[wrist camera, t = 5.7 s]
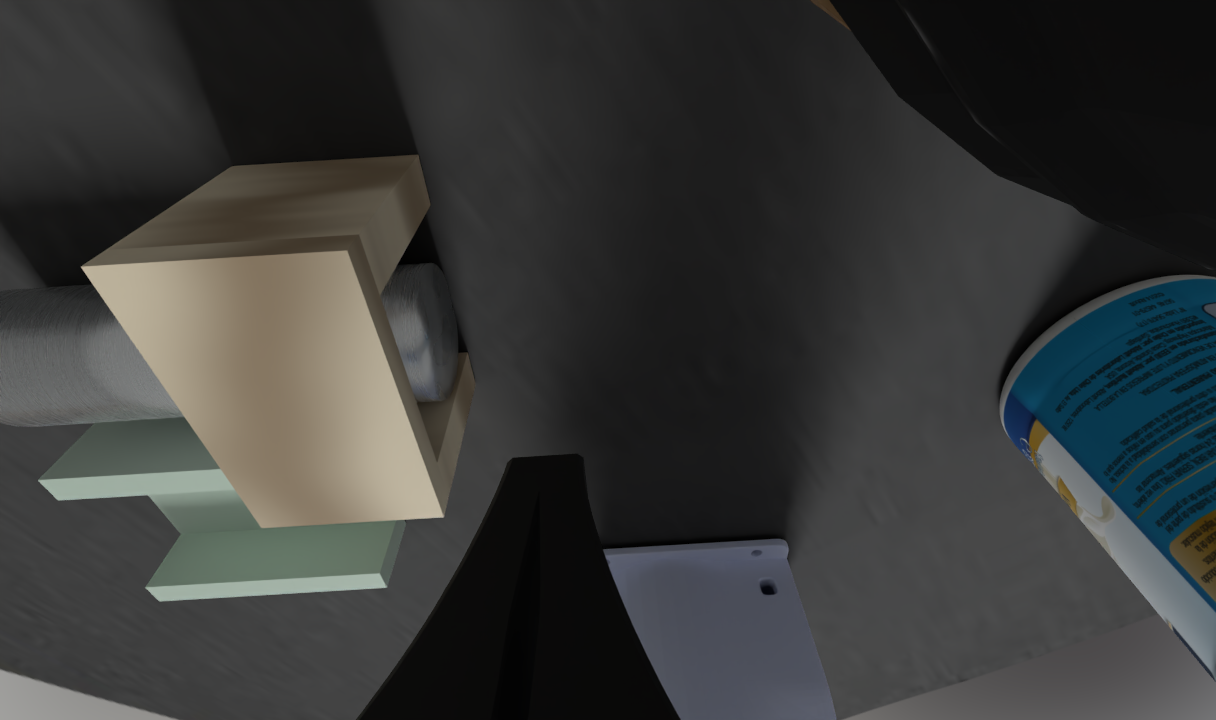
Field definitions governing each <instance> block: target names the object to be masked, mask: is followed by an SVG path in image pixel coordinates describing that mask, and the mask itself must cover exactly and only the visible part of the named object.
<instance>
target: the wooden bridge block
mask: <svg viewBox="0 0 1216 720" xmlns="http://www.w3.org/2000/svg"><path fill="white" fill-rule="evenodd" d="M430 205H431V204H430V200H429V196H428V192H427V188H426V184H425V180H424V176H423V172H422V168H421V164H420V160H419V156H418V155H405V156H389V157H372V158H356V159H340V160H323V161H307V162H291V163H274V164H258V165H241V166H231V167H230V168H228V169H227V170H225V171H224V172H222V173H221V174H219V175H218V176H216V177H215V178H213V179H212V180H210V181H209V182H207V183H206V184H204V185H203V186H201V187H200V188H198V189H197V190H195V191H194V192H192V193H191V194H189V195H188V196H186V197H185V198H183V199H182V200H180V201H179V202H177V203H176V204H174V205H173V206H171V207H170V208H168V209H167V210H165V211H164V212H162V213H161V214H159V215H158V216H156V217H155V218H153V219H152V220H150V221H149V222H147V223H146V224H144V225H143V226H141V227H140V228H138V229H137V230H135V231H134V232H132V233H131V234H129V235H128V236H126V237H124V238H123V239H121V240H120V241H118V242H117V243H115V244H114V245H112V246H111V247H109V248H108V249H106V250H105V251H103V252H102V253H100V254H99V255H97V256H96V257H94V258H93V259H91V260H90V261H88V262H87V263H85V264H84V265H82V266H81V268H82V270H83V271H84V272H85V274H86V275H87V277H88V278H89V280H90V281H91V283H92V284H93V285H94V287H95V288H96V290H97V291H98V293H99V294H100V296H101V297H102V298H103V300H104V301H105V303H106V304H107V306H108V307H109V309H110V310H111V311H112V313H113V314H114V316H115V317H116V319H117V320H118V322H119V323H120V324H121V326H122V327H123V329H124V330H125V332H126V333H127V335H128V336H129V337H130V339H131V340H132V342H133V343H134V345H135V346H136V348H137V349H138V350H139V352H140V353H141V355H142V356H143V358H144V359H145V361H146V362H147V363H148V365H149V366H150V368H151V369H152V371H153V372H154V374H155V375H156V376H157V378H158V379H159V381H160V382H161V384H162V385H163V387H164V388H165V389H166V391H167V392H168V394H169V395H170V397H171V398H172V400H173V401H174V402H175V404H176V405H177V407H178V408H179V410H180V411H181V413H182V414H183V415H184V417H185V418H186V420H187V421H188V423H189V424H190V426H191V427H192V428H193V430H194V431H195V433H196V434H197V436H198V437H199V439H200V440H201V441H202V443H203V444H204V446H205V447H206V449H207V450H208V452H209V453H210V454H211V456H212V457H213V459H214V460H215V462H216V463H217V465H218V466H219V467H220V469H221V470H222V472H223V473H224V475H225V476H226V478H227V479H228V480H229V482H230V483H231V485H232V486H233V488H234V489H235V491H236V492H237V493H238V495H239V496H240V498H241V499H242V501H243V502H244V504H245V505H246V506H247V508H248V509H249V511H250V512H251V514H252V515H253V517H254V518H255V519H256V521H257V522H258V524H259V525H260V527H261V528H274V527H290V526H307V525H323V524H340V523H356V522H373V521H390V520H406V519H423V518H439V517H444V515H445V510H446V506H447V502H448V498H449V494H450V489H451V485H452V481H453V477H454V473H455V468H456V464H457V460H458V456H459V452H460V447H461V443H462V439H463V435H464V431H465V426H466V422H467V418H468V414H469V409H470V405H471V401H472V397H473V393H474V388H475V380H474V376H473V372H472V368H471V364H470V360H469V356H468V352H464V353H458V366H457V374H456V380H455V384H454V387H453V390H452V392H451V394H450V396H449V397H448V398H447V399H446V400H444V401H431V402H416V400H415V397H414V394H413V391H412V388H411V385H410V382H409V379H408V376H407V373H406V370H405V367H404V365H403V362H402V359H401V356H400V353H399V350H398V347H397V344H396V341H395V338H394V335H393V332H392V329H391V327H390V324H389V321H388V318H387V315H386V312H385V309H384V306H383V303H382V300H381V297H380V295H381V293H382V291H383V290H384V288H385V286H386V284H387V282H388V281H389V279H390V277H391V275H392V273H393V272H394V270H395V268H396V266H397V264H398V263H399V261H400V259H401V257H402V256H403V254H404V252H405V250H406V248H407V247H408V245H409V243H410V241H411V239H412V238H413V236H414V234H415V232H416V230H417V229H418V227H419V225H420V223H421V222H422V220H423V218H424V216H425V214H426V213H427V211H428V209H429V207H430Z"/></svg>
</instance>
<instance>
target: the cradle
mask: <svg viewBox="0 0 1216 720" xmlns="http://www.w3.org/2000/svg"><path fill="white" fill-rule="evenodd" d="M38 481H39V482H40V483H41V484H42V485H43V486H44V487H45V488H46V489H47V490H48V491H49V492H50V493H51V494H52V495H53V496H54V497H55V498H56V499H57V500H74V499H90V498H107V497H123V496H140V495H148V496H149V497H150V498H151V499H152V500H153V501H154V503H155V504H156V505H157V506H158V507H159V509H160V510H161V511H162V512H163V513H164V515H165V516H166V517H167V518H168V519H169V520H170V522H171V523H172V524H173V525H174V526H175V528H176V529H177V530H178V531H179V532H180V533H181V535H180V536H179V538H178V539H177V541H176V542H175V544H174V545H173V547H172V548H171V550H170V551H169V553H168V554H167V556H166V557H165V559H164V560H163V562H162V563H161V565H160V566H159V568H158V569H157V571H156V572H155V574H154V575H153V577H152V578H151V580H150V581H149V583H148V584H147V586H146V587H145V588H146V589H147V590H148V591H149V592H150V593H151V594H152V595H153V596H154V597H155V598H156V599H157V600H158V601H174V600H190V599H207V598H223V597H240V596H256V595H273V594H290V593H306V592H323V591H339V590H356V589H373V588H387V586H388V583H389V580H390V576H391V573H392V569H393V566H394V563H395V559H396V556H397V553H398V549H399V546H400V543H401V539H402V536H403V533H404V529H405V526H406V522H405V520H390V521H373V522H356V523H340V524H323V525H307V526H290V527H274V528H261V527H260V525H259V524H258V522H257V521H256V519H255V518H254V517H253V515H252V514H251V512H250V511H249V509H248V508H247V506H246V505H245V504H244V502H243V501H242V499H241V498H240V496H239V495H238V493H237V492H236V491H235V489H234V488H233V486H232V485H231V483H230V482H229V480H228V479H227V478H226V476H225V475H224V473H223V472H222V470H221V469H220V467H219V466H218V465H217V463H216V462H215V460H214V459H213V457H212V456H211V454H210V453H209V452H208V450H207V449H206V447H205V446H204V444H203V443H202V441H201V440H200V439H199V437H198V436H197V434H196V433H195V431H194V430H193V428H192V427H191V426H190V424H189V423H188V421H187V420H186V418H185V417H178V418H162V419H146V420H131V421H115V422H99V423H94V424H93V425H92V426H91V427H90V428H89V429H88V430H87V431H86V432H85V433H84V434H83V435H82V436H81V437H80V438H79V439H78V440H77V441H76V442H75V443H74V444H73V445H72V446H71V447H70V448H69V449H68V450H67V451H66V452H65V453H64V454H63V455H62V456H61V457H60V458H59V459H58V460H57V461H56V462H55V463H54V464H53V465H52V466H51V467H50V468H49V469H48V470H47V471H46V472H45V473H44V474H43V475H42V476H41V477H40V478H39V479H38Z"/></svg>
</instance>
